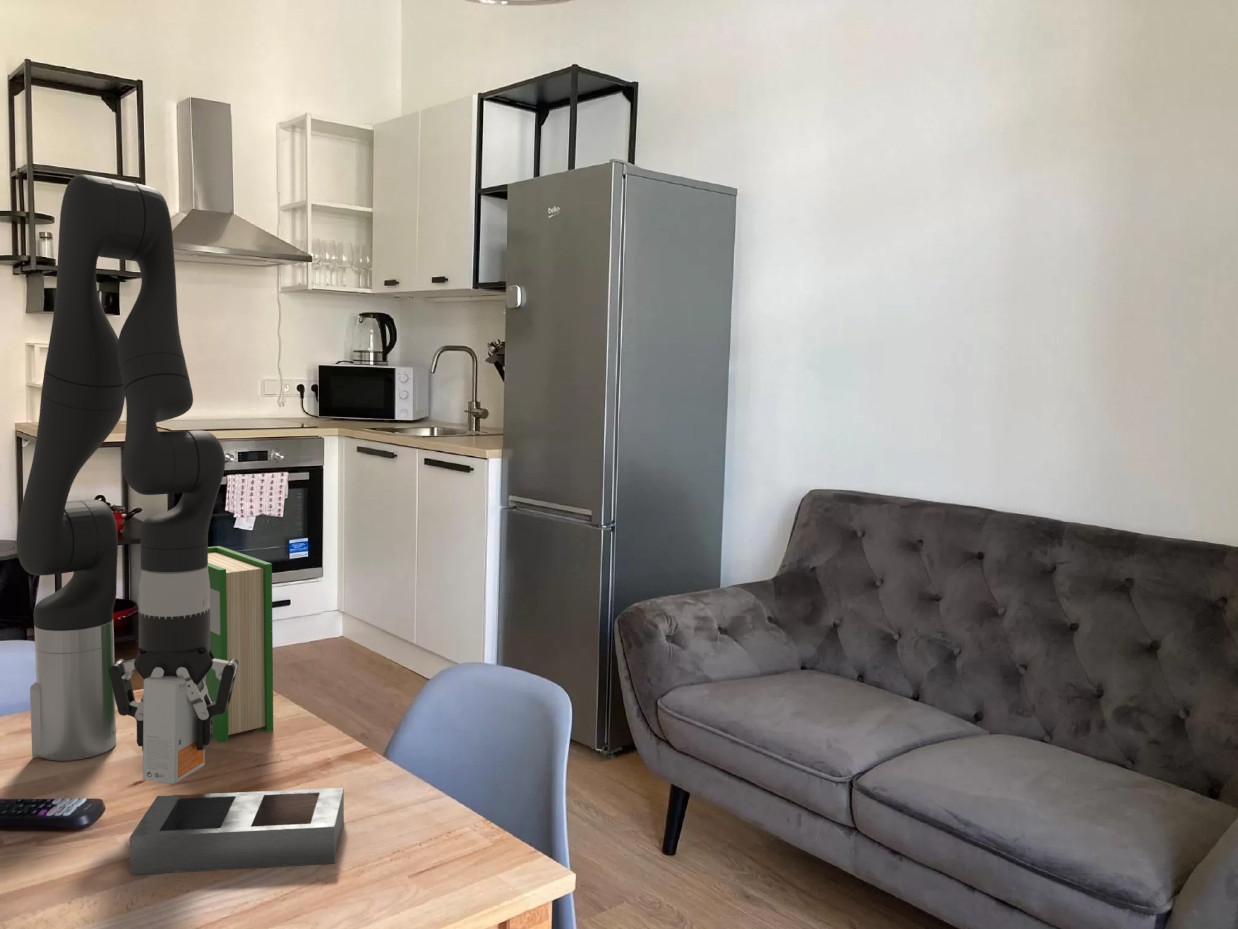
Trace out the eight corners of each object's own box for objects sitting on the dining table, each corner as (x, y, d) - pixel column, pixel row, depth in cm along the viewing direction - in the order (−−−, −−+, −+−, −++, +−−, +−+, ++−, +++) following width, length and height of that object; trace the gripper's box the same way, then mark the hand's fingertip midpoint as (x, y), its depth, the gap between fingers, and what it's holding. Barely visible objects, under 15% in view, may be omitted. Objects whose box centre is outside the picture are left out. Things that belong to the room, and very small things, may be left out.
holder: (130, 875, 104) (129, 837, 104) (157, 830, 114) (157, 796, 114) (334, 863, 107) (334, 826, 107) (343, 821, 117) (343, 788, 117)
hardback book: (273, 730, 146) (271, 563, 143) (221, 743, 141) (219, 570, 138) (221, 700, 158) (219, 546, 156) (172, 710, 153) (169, 551, 151)
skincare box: (175, 786, 116) (175, 683, 115) (141, 781, 117) (141, 678, 116) (207, 765, 122) (207, 667, 121) (175, 761, 123) (174, 663, 121)
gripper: (247, 597, 122) (246, 735, 124) (118, 597, 120) (119, 737, 122) (233, 614, 115) (232, 760, 117) (96, 613, 112) (97, 762, 114)
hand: (174, 747), depth 119 cm, fingers closed on skincare box, 5 cm apart
